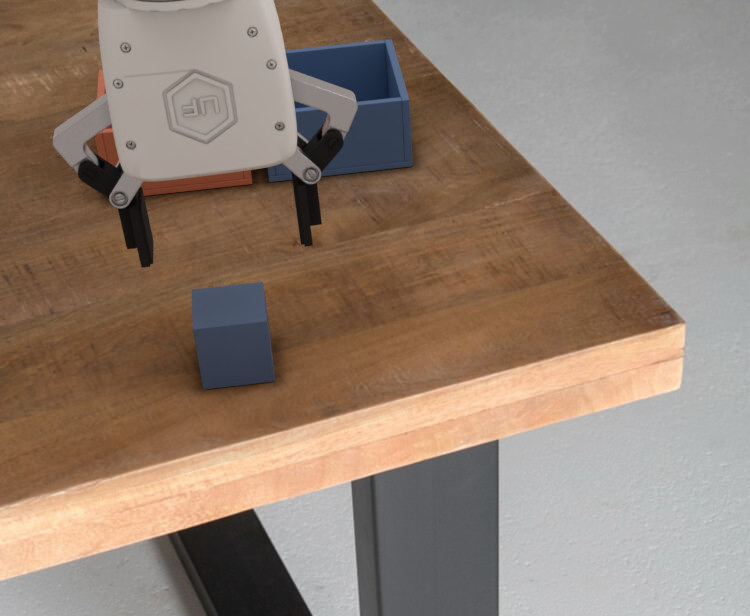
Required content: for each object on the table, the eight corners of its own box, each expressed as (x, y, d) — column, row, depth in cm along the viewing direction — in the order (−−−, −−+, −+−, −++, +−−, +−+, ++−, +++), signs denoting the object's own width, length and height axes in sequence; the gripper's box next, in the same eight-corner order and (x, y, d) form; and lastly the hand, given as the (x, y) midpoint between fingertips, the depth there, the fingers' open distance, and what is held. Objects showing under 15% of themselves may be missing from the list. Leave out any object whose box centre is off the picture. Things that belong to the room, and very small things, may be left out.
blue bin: (269, 182, 109) (260, 115, 105) (261, 117, 117) (253, 53, 114) (412, 166, 110) (409, 99, 106) (395, 103, 118) (391, 38, 114)
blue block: (203, 390, 90) (192, 329, 87) (201, 349, 93) (191, 289, 90) (275, 381, 90) (267, 321, 87) (271, 341, 93) (263, 281, 90)
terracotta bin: (107, 200, 109) (93, 133, 105) (111, 133, 117) (98, 69, 113) (252, 184, 109) (243, 117, 105) (246, 119, 117) (237, 55, 114)
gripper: (6, 4, 71) (81, 297, 82) (348, -38, 71) (375, 259, 83) (17, -49, 76) (87, 233, 88) (334, -88, 77) (362, 197, 88)
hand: (226, 245), depth 85 cm, fingers open, 9 cm apart
